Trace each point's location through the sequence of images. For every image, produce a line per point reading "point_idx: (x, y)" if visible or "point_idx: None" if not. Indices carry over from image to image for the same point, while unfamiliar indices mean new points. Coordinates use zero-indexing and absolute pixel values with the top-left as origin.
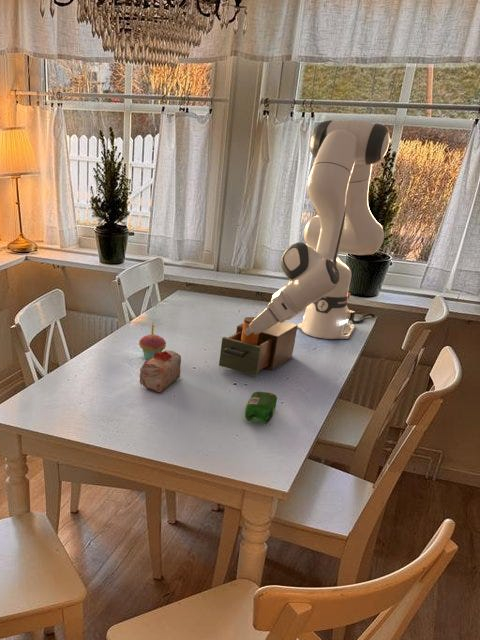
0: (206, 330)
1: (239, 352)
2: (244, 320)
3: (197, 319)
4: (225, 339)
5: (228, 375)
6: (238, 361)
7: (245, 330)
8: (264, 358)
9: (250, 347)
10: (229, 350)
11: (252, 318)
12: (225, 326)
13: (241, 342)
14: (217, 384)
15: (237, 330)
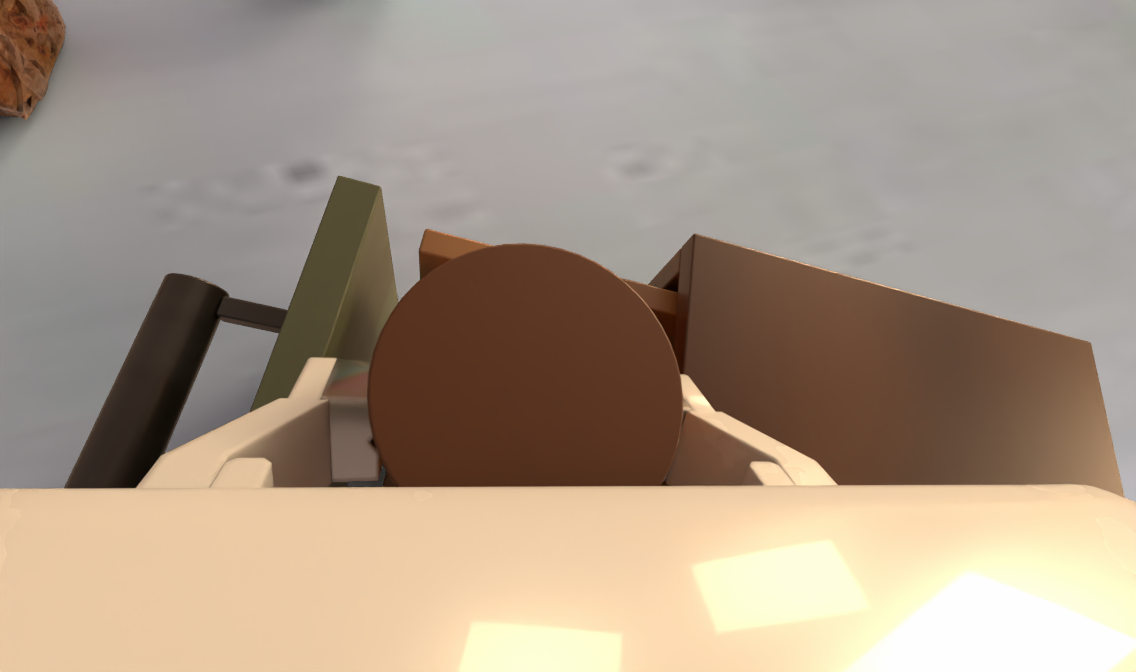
0: (891, 123)
1: (91, 444)
2: (439, 268)
3: (979, 65)
4: (327, 214)
5: None
6: None
7: (300, 375)
8: None
9: None
10: (142, 323)
11: (598, 368)
12: (1003, 192)
13: (270, 396)
14: (26, 382)
15: (675, 262)
